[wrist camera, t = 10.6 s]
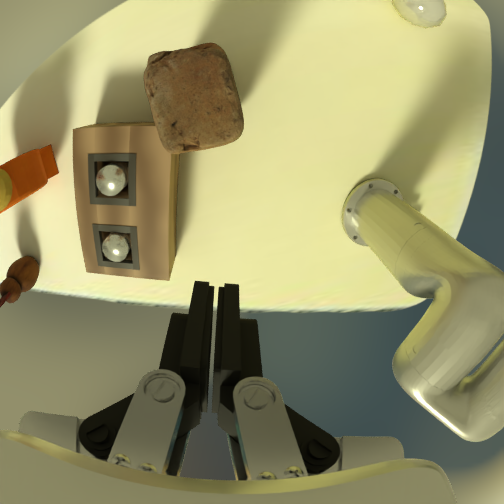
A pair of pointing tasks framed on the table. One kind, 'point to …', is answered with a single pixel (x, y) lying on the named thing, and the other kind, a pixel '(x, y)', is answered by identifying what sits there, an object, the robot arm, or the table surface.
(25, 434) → the robot arm
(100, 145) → the socket block
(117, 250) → the peg
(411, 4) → the potion bottle
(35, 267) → the wooden figurine
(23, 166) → the alarm clock
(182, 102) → the block
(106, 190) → the peg
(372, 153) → the table surface
